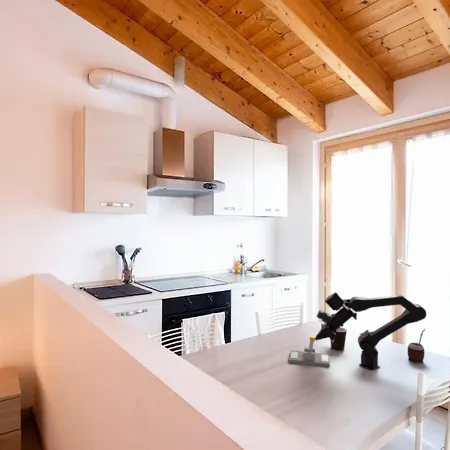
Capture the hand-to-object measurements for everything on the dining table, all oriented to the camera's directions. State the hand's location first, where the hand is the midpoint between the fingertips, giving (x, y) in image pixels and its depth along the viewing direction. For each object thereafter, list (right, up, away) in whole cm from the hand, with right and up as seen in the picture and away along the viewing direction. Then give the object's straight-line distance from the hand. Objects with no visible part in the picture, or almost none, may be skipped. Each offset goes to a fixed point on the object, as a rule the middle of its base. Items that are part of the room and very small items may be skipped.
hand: (315, 339), depth 165 cm
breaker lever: (-3, -7, +1) cm, 7 cm away
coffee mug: (+16, -10, +18) cm, 26 cm away
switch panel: (-3, -10, +1) cm, 10 cm away
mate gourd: (+48, -11, +1) cm, 49 cm away
